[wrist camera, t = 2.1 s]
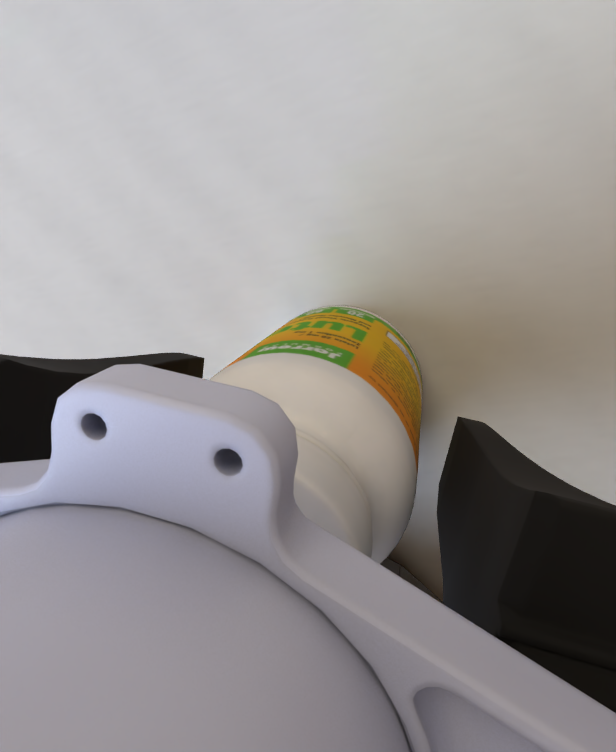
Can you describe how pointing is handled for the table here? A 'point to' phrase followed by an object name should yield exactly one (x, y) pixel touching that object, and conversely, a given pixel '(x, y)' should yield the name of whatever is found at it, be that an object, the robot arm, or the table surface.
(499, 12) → the table surface
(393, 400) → the supplement bottle
